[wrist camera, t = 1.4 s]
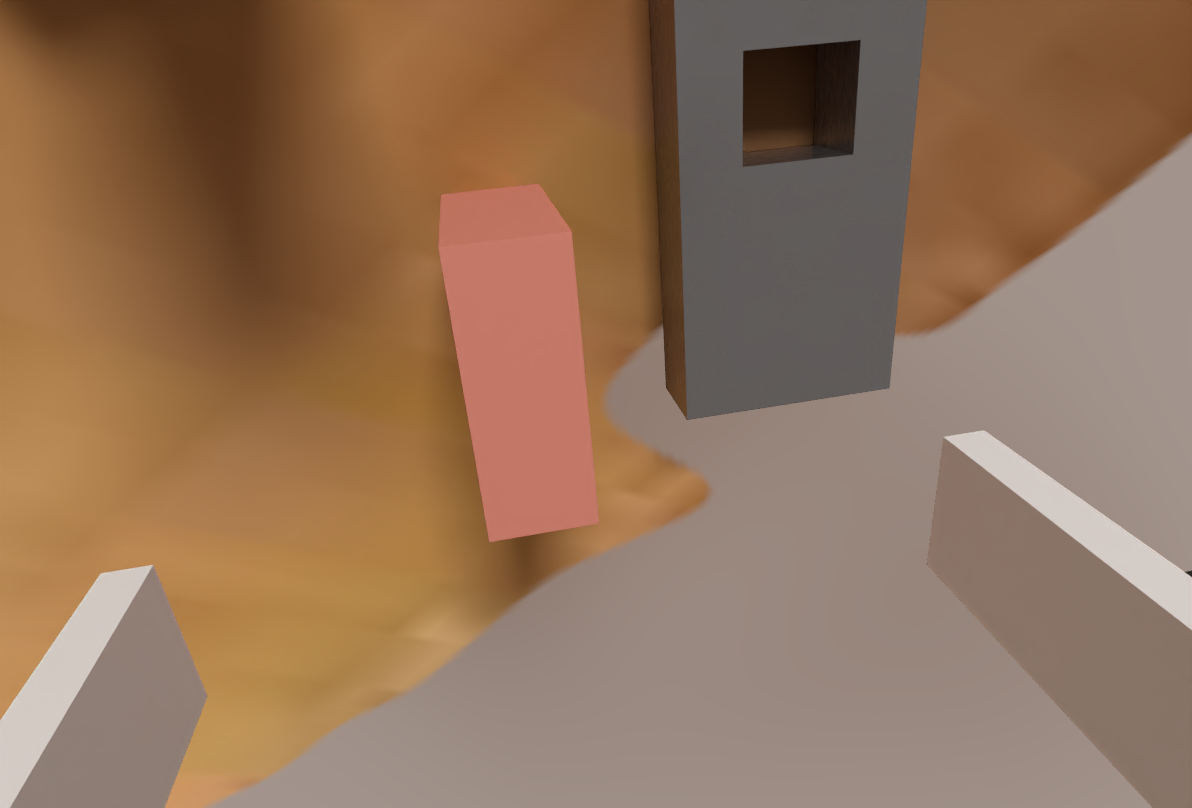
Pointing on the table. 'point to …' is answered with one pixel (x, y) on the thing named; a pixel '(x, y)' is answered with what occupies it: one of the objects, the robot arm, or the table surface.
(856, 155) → the rail
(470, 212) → the pink slab
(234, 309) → the table surface
